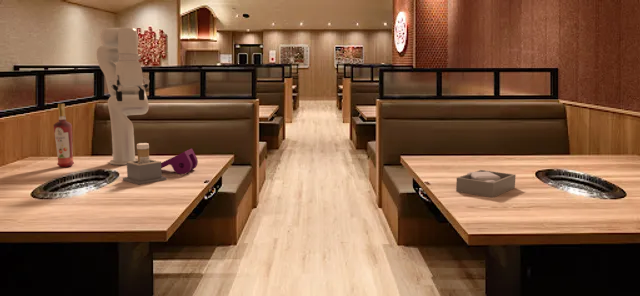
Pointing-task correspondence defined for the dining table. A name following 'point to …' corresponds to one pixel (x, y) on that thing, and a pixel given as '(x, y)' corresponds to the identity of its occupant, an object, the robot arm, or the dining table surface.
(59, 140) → the liquor
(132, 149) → the robot arm
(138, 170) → the well
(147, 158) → the sprinkles bottle
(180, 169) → the mounting bracket
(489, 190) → the stand
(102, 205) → the dining table surface
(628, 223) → the dining table surface
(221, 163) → the dining table surface
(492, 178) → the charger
